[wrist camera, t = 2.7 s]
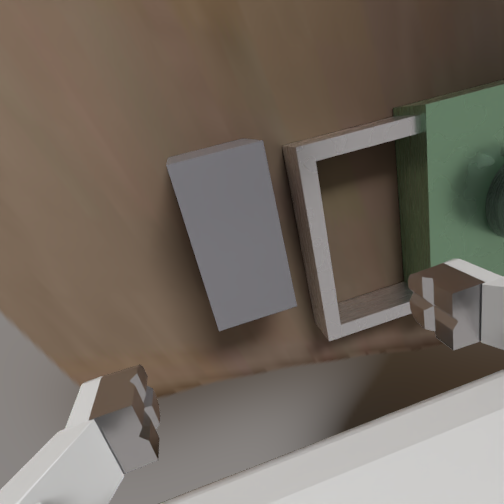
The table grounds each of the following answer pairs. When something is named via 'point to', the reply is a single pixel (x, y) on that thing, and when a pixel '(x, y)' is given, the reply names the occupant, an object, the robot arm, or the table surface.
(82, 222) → the table surface
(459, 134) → the multicoloured piece
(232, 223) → the grey rectangular cuboid
